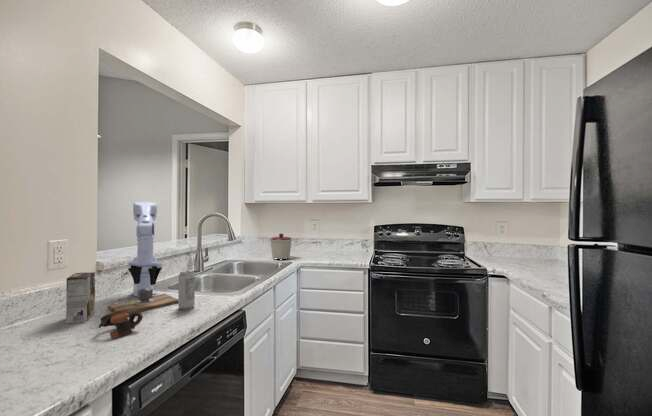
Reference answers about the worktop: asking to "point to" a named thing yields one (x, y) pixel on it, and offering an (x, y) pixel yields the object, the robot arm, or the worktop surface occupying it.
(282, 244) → the canister
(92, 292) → the coffee box
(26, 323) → the worktop surface
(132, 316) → the brown rounded piece
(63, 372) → the worktop surface
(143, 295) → the grey faceted polyhedron
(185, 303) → the energy drink can
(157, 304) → the board
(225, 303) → the worktop surface
